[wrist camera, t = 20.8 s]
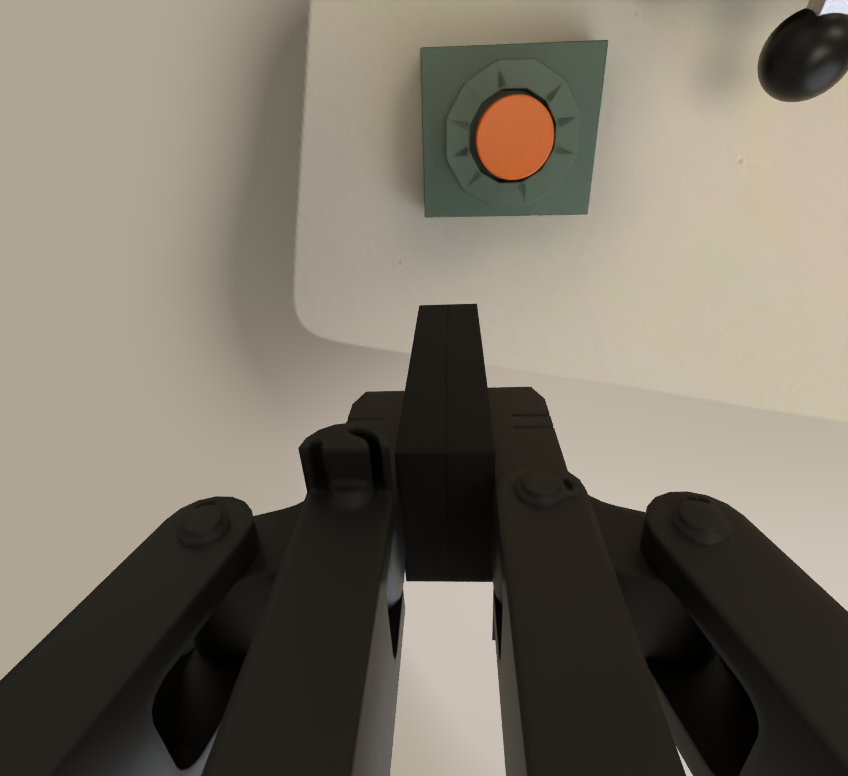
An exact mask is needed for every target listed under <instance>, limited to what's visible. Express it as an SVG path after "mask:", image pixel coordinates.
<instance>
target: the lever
mask: <svg viewBox="0 0 848 776" xmlns="http://www.w3.org/2000/svg"><path fill="white" fill-rule="evenodd" d="M847 71H848V0H810V1H809V3H808V5H807V8H805V9H803V10H800V11H798V12H796V13H795V14H793V15H791V16H790V17H788V18H787V19H786V20H784V21H783V22H782V23H781V24H780V25H779V26H778V27H777V28H776V29H775V30H774V31H773V32H772V33H771V35H770V36H769V38H768V39H767V41H766V42H765V44H764V46H763V48H762V51H761V53H760V56H759V60H758V78H759V81H760V84H761V86H762V87H763V89H764V90H765V92H766V93H767V94H769V95H770V96H771V97H773V98H775V99H778V100H780V101H785V102H799V101H804V100H808V99H811V98H814V97H816V96H818V95H820V94H822V93H824V92H825V91H827V90H828V89H830V88H831V87H832V86H834V85H835V84H836V83H837V82H838V81H839V80H840V79H841V78H842V77H843V76H844V75H845V74H846V72H847Z"/></svg>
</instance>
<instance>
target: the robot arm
mask: <svg viewBox="0 0 848 776" xmlns="http://www.w3.org/2000/svg"><path fill="white" fill-rule="evenodd" d="M299 453H300V458H301V463H302V468H303V473H304V478H305V483H306V488H307V495H306V498H305V500H304V501H303V502H301V503H299V504H297V505H295V506H292V507H289V508H286V509H282V510H278V511H274V512H269V513H265V514H261V515H256V516H253V514H252V510H251V509H250V508H249V506H248V505H247V504H246V503H245V502H244V501H242V500H239V499H236V498H234V497H212V498H207V499H203V500H199V501H196V502H194V503H192V504H190V505H188V506H185V507H183V508H181V509H180V510H178V511H177V512H176V513H174V514H173V515H172V516H170V517H169V518H168V519H166V520H165V521H164V522H163V523H162V524H161V525H160V526H159V527H158V528H157V529H156V530H155V531H154V532H153V533H152V534H151V535H150V536H149V537H148V538H147V539H146V540H145V541H144V542H143V543H142V544H141V545H140V546H139V547H137V548H136V549H135V551H133V552H132V553H131V554H130V555H129V556H128V557H127V559H125V560H124V561H123V562H122V563H121V564H120V565H119V566H118V567H117V568H116V569H115V570H114V571H113V572H112V573H111V574H110V575H109V576H108V577H107V578H106V579H105V580H104V581H103V582H101V584H99V585H98V586H97V587H96V588H95V589H94V590H93V591H92V592H91V593H90V594H89V595H88V596H87V597H86V598H85V599H84V600H83V601H82V602H81V603H80V604H79V605H78V606H77V607H76V608H75V609H74V610H73V611H72V612H71V613H69V614H68V615H67V616H66V617H65V618H64V619H63V620H62V621H61V622H60V623H59V624H58V625H57V626H56V627H55V628H54V629H53V630H52V631H51V632H50V633H49V634H48V635H47V636H46V637H45V638H44V639H43V640H42V641H41V642H40V643H39V644H38V645H37V646H36V647H35V648H34V649H32V650H31V651H30V652H29V653H28V654H27V655H26V656H25V657H24V658H23V659H22V660H21V661H20V662H19V663H18V664H17V665H16V666H15V667H14V668H13V669H12V670H11V671H10V672H9V673H8V674H7V675H6V676H5V677H4V678H3V679H2V680H0V776H390V768H391V757H392V746H393V735H394V724H395V713H396V703H397V702H396V701H397V691H398V681H399V670H400V659H401V648H402V636H403V625H404V615H405V603H404V594H403V583H404V573H405V572H406V581H453V582H454V581H456V582H461V581H462V582H464V581H466V582H493V585H494V593H493V594H494V595H493V635H492V636H493V637H492V640H496V653H497V665H498V678H499V691H500V704H501V716H502V730H503V742H504V753H505V754H504V755H505V767H506V776H686V774H685V771H684V769H683V766H682V763H681V760H680V757H679V754H678V751H677V749H678V750H679V752H680V754H681V755H682V757H683V759H684V760H685V762H686V764H687V766H688V768H689V769H690V771H691V773H692V774H693V776H848V612H847V611H846V610H845V609H844V608H843V607H842V606H841V605H840V604H839V603H838V602H836V601H835V600H834V599H833V598H832V597H831V596H830V595H829V594H828V593H827V592H826V591H825V590H823V588H821V587H820V586H819V585H818V584H817V583H816V582H815V581H814V580H813V579H812V578H810V576H808V575H807V574H806V573H805V572H804V571H803V570H802V569H801V568H800V567H799V566H798V565H797V564H796V563H794V562H793V561H792V560H791V559H790V558H789V557H788V556H787V555H786V554H785V553H784V552H782V551H781V550H780V549H779V548H778V547H777V546H776V545H775V544H774V543H773V542H772V541H771V540H770V539H768V538H767V537H766V536H765V535H764V534H763V533H762V532H761V531H760V530H759V529H757V527H756V526H754V525H753V524H752V523H751V522H750V521H749V520H748V519H747V518H746V517H745V516H744V515H742V514H741V513H739V512H738V511H737V510H735V509H734V508H732V507H731V506H729V505H728V504H726V503H724V502H722V501H719V500H717V499H714V498H712V497H710V496H707V495H702V494H697V493H691V492H668V493H666V494H663V495H660V496H658V497H655V498H654V499H653V500H652V502H651V503H650V504H649V505H648V506H647V509H646V512H641V511H637V510H632V509H628V508H623V507H618V506H615V505H611V504H608V503H605V502H602V501H600V500H597V499H595V498H593V497H591V496H589V495H588V494H587V491H586V489H585V487H584V486H583V484H582V483H581V481H580V480H579V479H578V478H576V477H575V476H574V475H572V474H571V473H569V472H568V470H567V467H566V464H565V461H564V458H563V455H562V451H561V448H560V445H559V442H558V439H557V436H556V433H555V430H554V428H553V423H552V420H551V417H550V416H549V411H548V408H547V405H546V402H545V399H544V398H543V397H542V396H541V395H539V394H538V393H537V392H536V391H535V390H534V389H533V388H532V387H501V388H487V380H486V373H485V365H484V357H483V349H482V341H481V333H480V325H479V317H478V309H477V304H453V305H420V306H419V311H418V317H417V323H416V329H415V335H414V341H413V347H412V352H411V359H410V364H409V370H408V376H407V382H406V389H405V391H384V392H383V391H380V392H365V393H364V394H363V395H362V396H361V397H360V398H359V399H358V400H357V401H356V402H355V403H354V404H353V405H352V408H351V411H350V414H349V416H348V421H347V422H346V423H345V424H337V425H333V426H329V427H327V428H324V429H321V430H318V431H317V432H315V433H314V434H312V435H310V436H309V437H307V438H306V439H305V440H304V442H303V443H302V444H301V445H300V447H299ZM676 747H677V748H676Z"/></svg>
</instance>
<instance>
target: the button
mask: <svg viewBox="0 0 848 776" xmlns="http://www.w3.org/2000/svg"><path fill="white" fill-rule="evenodd" d="M553 141H554V126H553V121H552V118H551V116H550V114H549V112H548V110H547V109H546V107H545V106H544V105H543V104H542V103H541V102H540V101H538V100H537V99H535V98H533V97H531V96H528V95H524V94H513V95H509V96H505V97H503V98H500V99H498V100H497V101H495V102H494V103H492V104H491V105H490V106H489V107H488V108H487V109H486V110H485V111H484V113H483V114H482V116H481V118H480V120H479V122H478V125H477V128H476V134H475V144H476V149H477V153H478V155H479V158H480V160H481V162H482V163H483V165H484V166H485V167H486V169H487V170H488V171H490V172H491V173H492V174H493V175H495V176H497V177H499V178H502V179H507V180H518V179H522V178H525V177H528V176H529V175H531V174H533V173H534V172H536V171H537V170H538V169H539V168H540V167H541V166H542V165H543V164H544V162H545V161H546V160H547V158H548V156H549V154H550V152H551V149H552V146H553Z"/></svg>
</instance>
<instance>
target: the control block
mask: <svg viewBox="0 0 848 776" xmlns="http://www.w3.org/2000/svg"><path fill="white" fill-rule="evenodd" d="M607 46H608V40H596V41H572V42H547V43H522V44H497V45H472V46H447V47H423V48H421V85H422V124H423V162H424V201H425V217H473V216H527V215H582V214H587V213H588V205H589V197H590V188H591V180H592V172H593V163H594V155H595V147H596V138H597V130H598V121H599V113H600V105H601V96H602V88H603V80H604V71H605V63H606V55H607ZM513 94H524V95H528V96H531V97H533V98H535V99H537V100H538V101H540V102H541V103H542V104H543V105H544V106H545V107H546V109H547V110H548V112H549V114H550V116H551V118H552V121H553V126H554V141H553V146H552V149H551V152H550V154H549V156H548V158H547V160H546V161H545V162H544V164H543V165H542V166H541V167H540V168H539V169H538V170H537V171H536V172H534V173H533V174H531V175H529V176H528V177H525V178H522V179H518V180H507V179H502V178H499V177H497V176H495V175H493V174H492V173H491V172H490V171H488V170H487V169H486V167H485V166H484V165H483V163H482V162H481V160H480V158H479V155H478V153H477V149H476V144H475V134H476V128H477V125H478V122H479V120H480V118H481V116H482V114H483V113H484V111H485V110H486V109H487V108H488V107H489V106H490V105H491V104H492V103H494V102H495V101H497V100H498V99H500V98H503V97H505V96H509V95H513Z"/></svg>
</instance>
